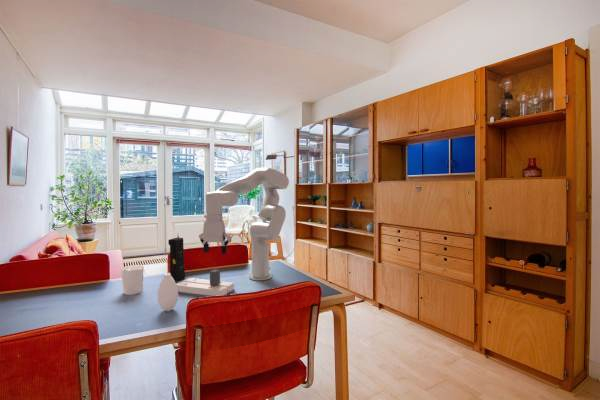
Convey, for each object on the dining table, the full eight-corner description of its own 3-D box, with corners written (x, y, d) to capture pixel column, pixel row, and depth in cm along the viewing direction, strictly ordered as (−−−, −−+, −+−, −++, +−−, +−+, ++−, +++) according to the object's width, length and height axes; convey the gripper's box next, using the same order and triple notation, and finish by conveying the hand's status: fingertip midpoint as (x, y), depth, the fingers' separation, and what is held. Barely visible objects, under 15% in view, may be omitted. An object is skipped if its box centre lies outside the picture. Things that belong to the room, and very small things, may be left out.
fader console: (189, 285, 164) (189, 277, 164) (234, 290, 156) (234, 282, 156) (174, 292, 152) (173, 284, 152) (221, 299, 144) (220, 289, 144)
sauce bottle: (157, 315, 126) (156, 271, 125) (158, 308, 134) (157, 266, 133) (178, 312, 130) (177, 269, 129) (177, 305, 137) (177, 264, 136)
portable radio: (177, 282, 169) (177, 235, 168) (167, 281, 170) (166, 235, 169) (185, 277, 177) (185, 233, 175) (176, 277, 178) (175, 233, 177)
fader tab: (214, 288, 154) (214, 269, 154) (220, 289, 154) (219, 269, 153) (210, 291, 151) (209, 271, 150) (215, 292, 150) (215, 272, 149)
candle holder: (148, 290, 156) (148, 266, 155) (130, 296, 147) (130, 271, 147) (135, 287, 160) (134, 264, 160) (117, 293, 151) (116, 268, 151)
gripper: (194, 218, 149) (195, 253, 150) (226, 219, 144) (226, 256, 145) (203, 216, 156) (204, 250, 158) (234, 217, 151) (235, 252, 152)
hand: (215, 253), depth 151 cm, fingers open, 9 cm apart
